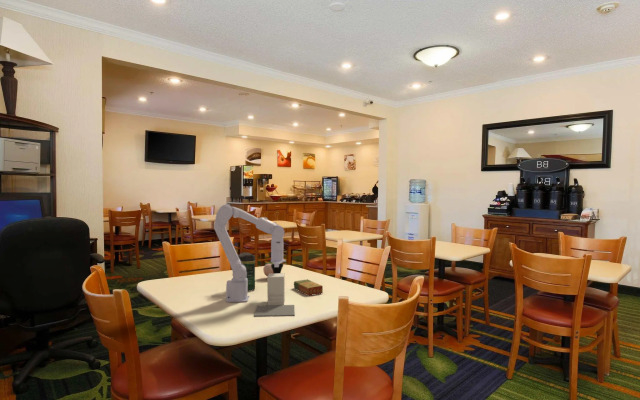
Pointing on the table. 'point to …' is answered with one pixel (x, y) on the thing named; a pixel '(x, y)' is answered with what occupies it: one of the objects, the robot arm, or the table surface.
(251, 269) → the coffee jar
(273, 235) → the robot arm
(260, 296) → the table surface
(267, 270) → the decorative fruit
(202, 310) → the table surface
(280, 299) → the supplement box
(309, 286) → the carton
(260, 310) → the mat
